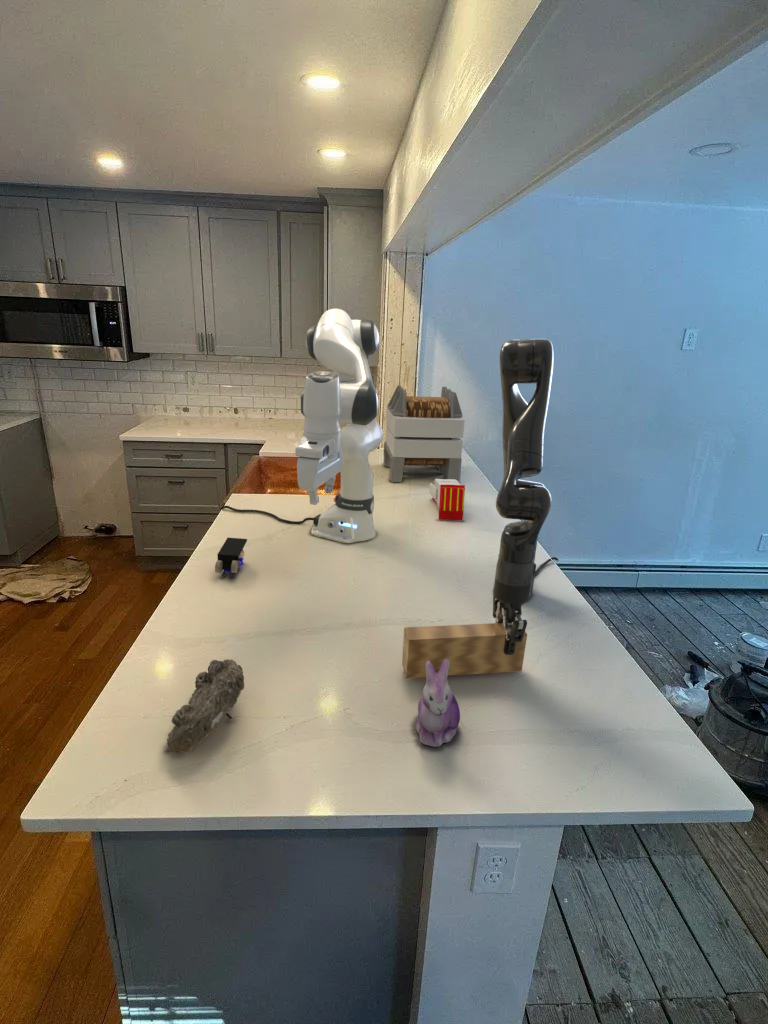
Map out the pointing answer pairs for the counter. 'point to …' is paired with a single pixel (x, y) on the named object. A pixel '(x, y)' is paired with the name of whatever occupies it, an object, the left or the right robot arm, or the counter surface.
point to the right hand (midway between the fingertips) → (504, 646)
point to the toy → (448, 498)
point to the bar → (460, 649)
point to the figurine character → (230, 556)
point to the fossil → (206, 705)
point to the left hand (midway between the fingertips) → (321, 498)
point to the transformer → (424, 433)
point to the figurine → (437, 708)
